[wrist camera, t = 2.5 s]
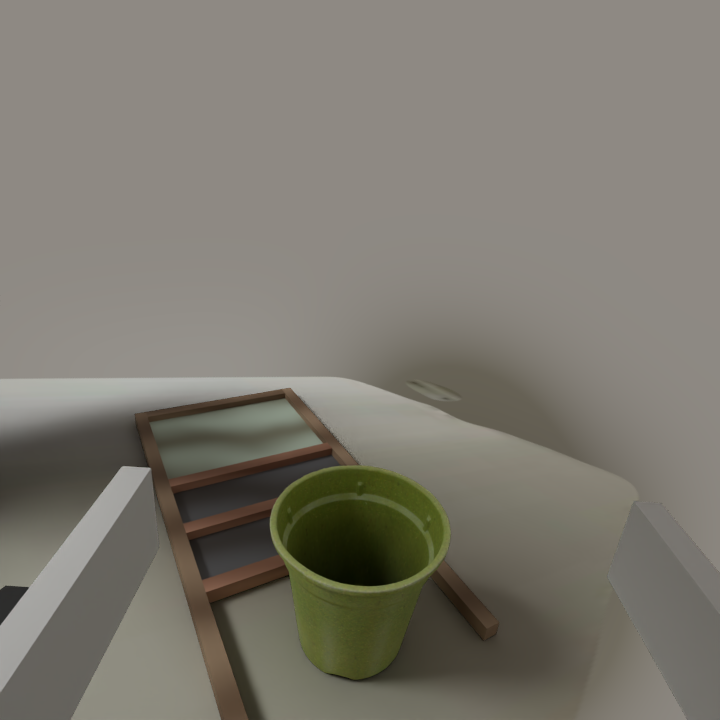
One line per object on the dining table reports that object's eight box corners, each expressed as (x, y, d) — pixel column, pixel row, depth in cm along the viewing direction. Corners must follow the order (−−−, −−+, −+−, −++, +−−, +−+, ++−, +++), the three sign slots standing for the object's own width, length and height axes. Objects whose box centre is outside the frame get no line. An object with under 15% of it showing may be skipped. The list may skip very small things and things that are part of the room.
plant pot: (325, 755, 24) (337, 626, 20) (242, 611, 31) (240, 496, 27) (461, 654, 29) (489, 539, 26) (364, 551, 36) (376, 448, 32)
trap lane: (135, 422, 49) (134, 413, 48) (289, 395, 56) (290, 387, 56) (236, 771, 23) (235, 758, 22) (495, 634, 31) (499, 622, 30)
